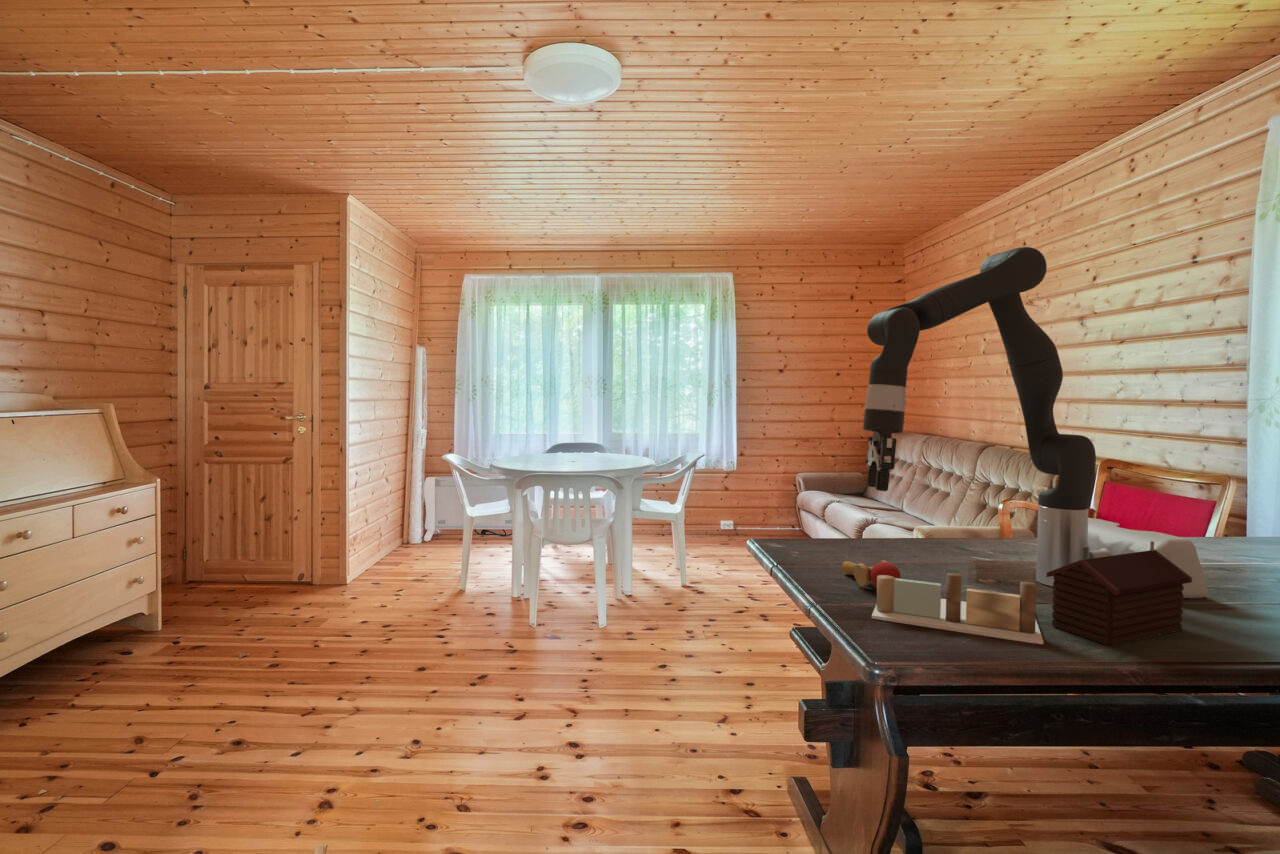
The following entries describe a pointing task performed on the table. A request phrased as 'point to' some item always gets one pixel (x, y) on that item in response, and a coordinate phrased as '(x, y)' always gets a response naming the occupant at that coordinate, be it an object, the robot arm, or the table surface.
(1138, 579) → the model building
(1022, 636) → the board
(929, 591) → the panel
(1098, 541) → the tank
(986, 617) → the fence fixed
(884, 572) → the kendama
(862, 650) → the table surface
